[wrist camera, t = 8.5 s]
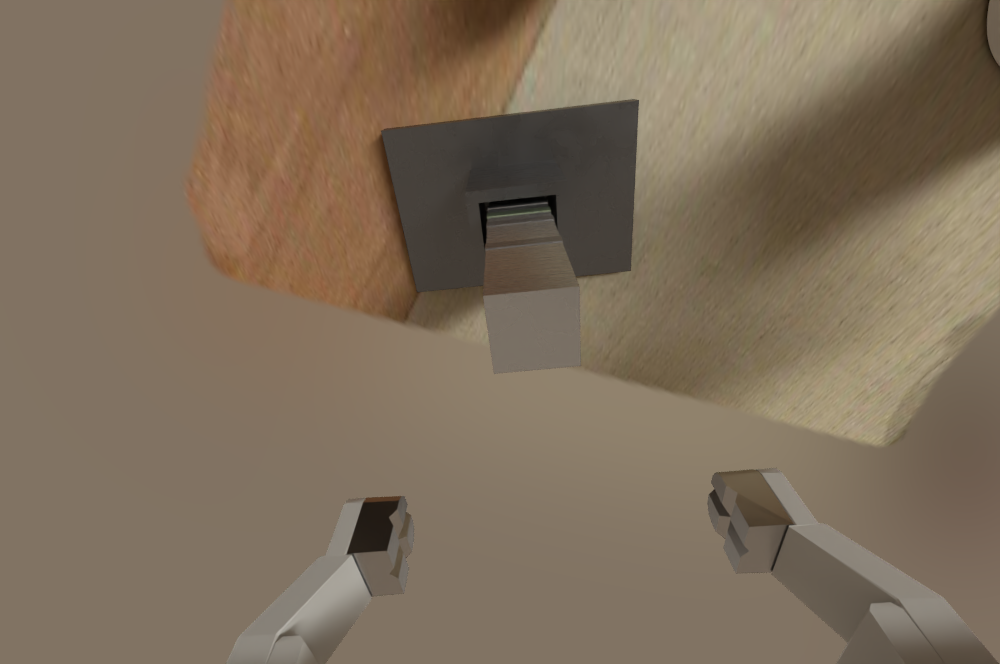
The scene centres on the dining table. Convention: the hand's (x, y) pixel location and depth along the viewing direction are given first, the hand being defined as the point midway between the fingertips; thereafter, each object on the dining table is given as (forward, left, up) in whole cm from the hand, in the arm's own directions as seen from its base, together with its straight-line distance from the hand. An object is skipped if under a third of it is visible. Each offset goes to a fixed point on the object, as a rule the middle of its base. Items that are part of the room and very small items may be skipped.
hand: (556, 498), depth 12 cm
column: (0, 0, -25) cm, 25 cm away
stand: (0, 0, -31) cm, 31 cm away
